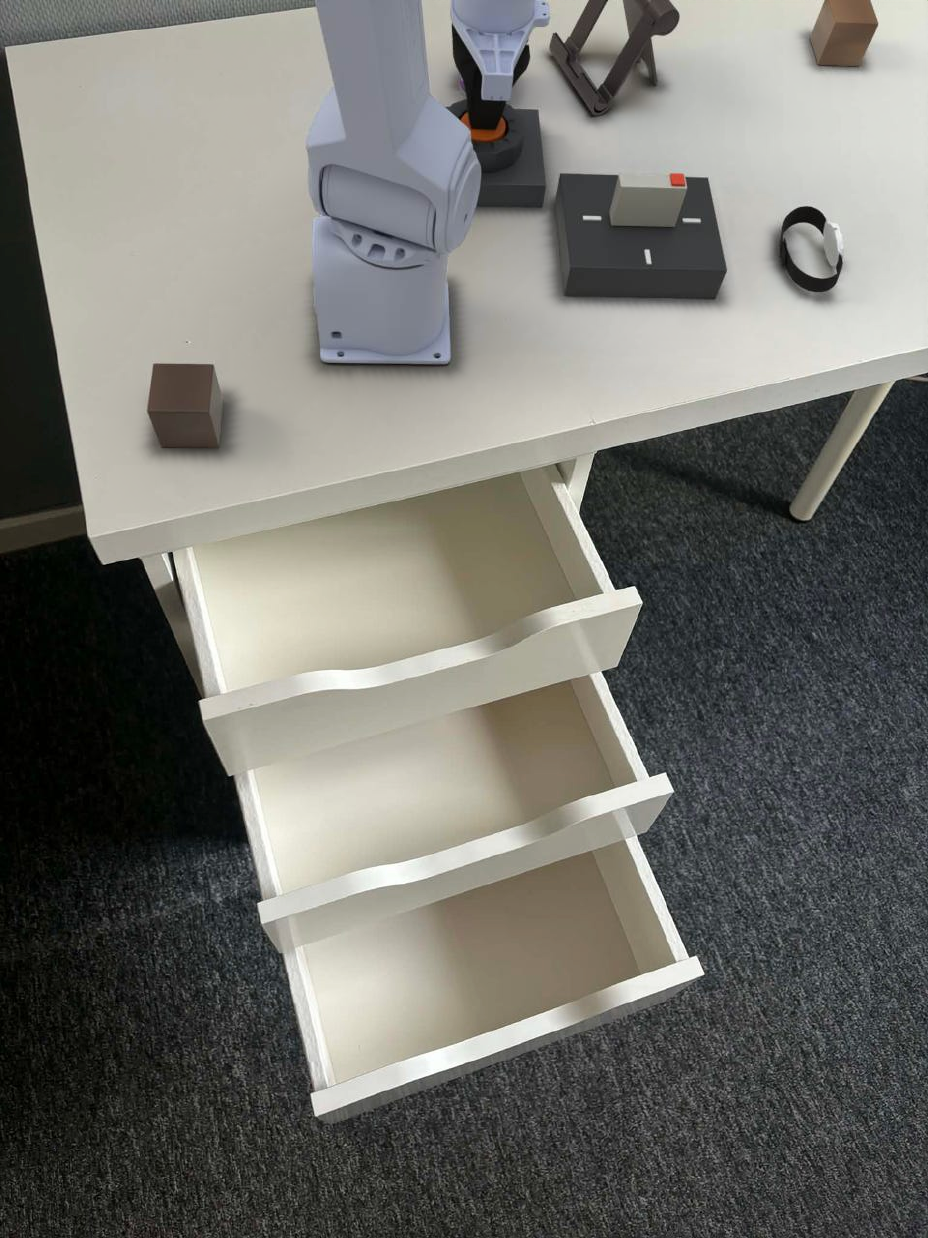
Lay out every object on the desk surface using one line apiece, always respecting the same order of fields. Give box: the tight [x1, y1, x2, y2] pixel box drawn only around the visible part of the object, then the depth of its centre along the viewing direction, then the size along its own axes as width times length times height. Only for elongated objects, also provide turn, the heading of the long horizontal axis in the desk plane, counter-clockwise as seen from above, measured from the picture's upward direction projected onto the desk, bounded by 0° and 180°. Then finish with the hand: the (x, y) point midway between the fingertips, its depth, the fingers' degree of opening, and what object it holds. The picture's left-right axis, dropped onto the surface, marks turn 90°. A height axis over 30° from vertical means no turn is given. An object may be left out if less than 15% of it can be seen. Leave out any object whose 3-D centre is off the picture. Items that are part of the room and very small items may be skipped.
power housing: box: [444, 98, 547, 209], centre depth 77 cm, size 10×9×4 cm
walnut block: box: [146, 362, 224, 449], centre depth 64 cm, size 4×4×4 cm
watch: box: [778, 205, 845, 293], centre depth 75 cm, size 8×5×4 cm, turn 8°
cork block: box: [809, 0, 879, 67], centre depth 87 cm, size 4×4×4 cm
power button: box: [461, 112, 505, 143], centre depth 76 cm, size 4×4×2 cm
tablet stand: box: [548, 0, 681, 117], centre depth 81 cm, size 9×8×8 cm
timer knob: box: [609, 172, 687, 227], centre depth 71 cm, size 5×1×4 cm, turn 92°
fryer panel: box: [554, 172, 728, 300], centre depth 74 cm, size 12×10×3 cm
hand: (483, 123), depth 75 cm, fingers closed, pressing on power button
